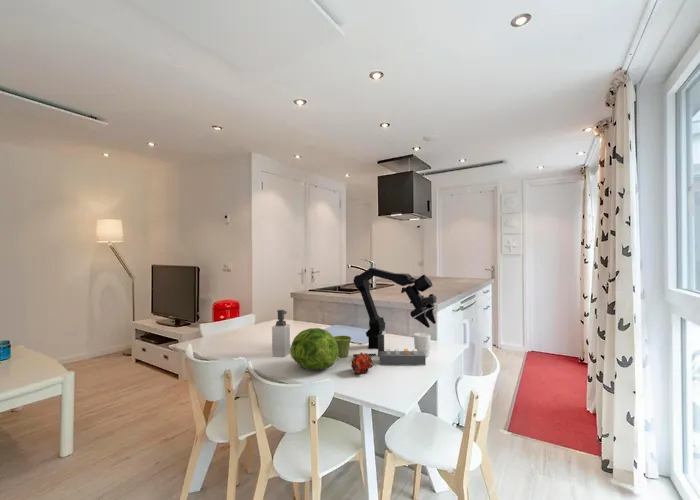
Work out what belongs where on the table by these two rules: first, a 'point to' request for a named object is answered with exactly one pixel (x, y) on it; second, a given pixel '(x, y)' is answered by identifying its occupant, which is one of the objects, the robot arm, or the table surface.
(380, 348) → the post
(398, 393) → the table surface
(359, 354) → the dark grey thin rod
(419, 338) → the white cup
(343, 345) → the plant pot
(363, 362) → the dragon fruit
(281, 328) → the soap dispenser
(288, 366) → the table surface
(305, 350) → the lettuce
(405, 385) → the table surface
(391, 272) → the robot arm
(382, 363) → the breaker strip
